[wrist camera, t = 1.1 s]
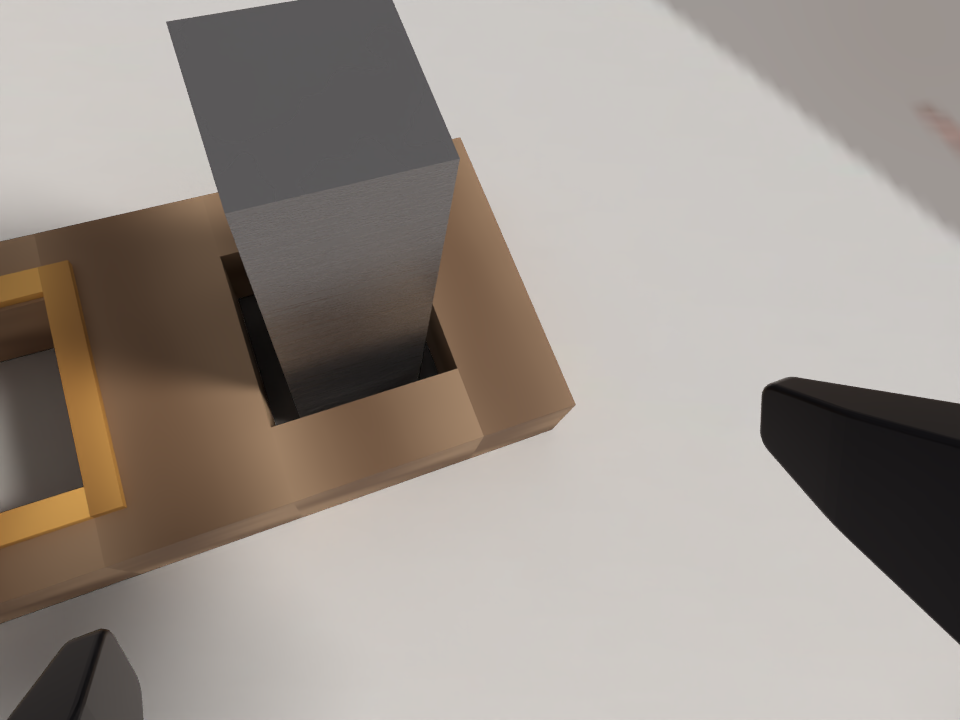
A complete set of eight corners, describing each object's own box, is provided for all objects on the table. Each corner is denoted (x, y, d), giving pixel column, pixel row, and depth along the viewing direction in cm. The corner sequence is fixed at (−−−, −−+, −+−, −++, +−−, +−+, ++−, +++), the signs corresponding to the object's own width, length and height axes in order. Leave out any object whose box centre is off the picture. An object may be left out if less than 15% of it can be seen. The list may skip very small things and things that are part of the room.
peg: (380, 282, 25) (386, -15, 13) (417, 383, 24) (460, 158, 12) (267, 312, 24) (166, 21, 12) (300, 420, 23) (224, 213, 11)
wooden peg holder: (451, 187, 26) (461, 131, 23) (551, 429, 24) (578, 401, 21) (-230, 355, 21) (-333, 309, 18) (-201, 694, 18) (-318, 710, 15)
